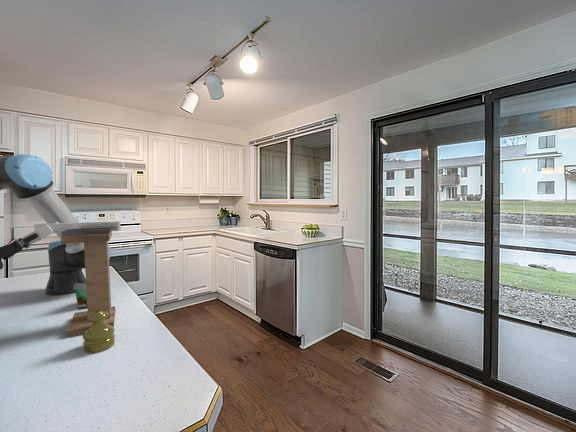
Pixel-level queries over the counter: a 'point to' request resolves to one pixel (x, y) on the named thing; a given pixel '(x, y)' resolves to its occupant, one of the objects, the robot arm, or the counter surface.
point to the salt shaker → (98, 333)
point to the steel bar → (79, 226)
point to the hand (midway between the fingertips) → (55, 226)
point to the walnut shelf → (92, 276)
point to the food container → (81, 295)
